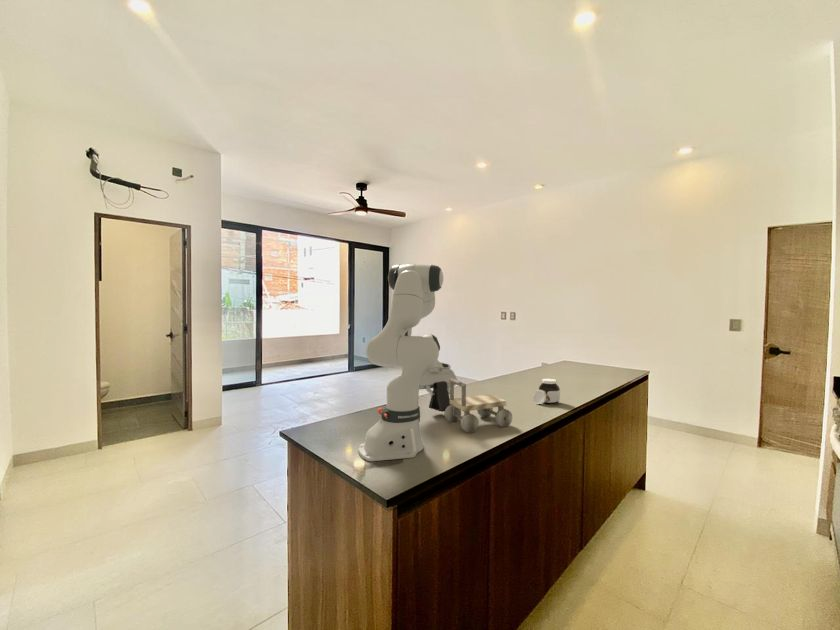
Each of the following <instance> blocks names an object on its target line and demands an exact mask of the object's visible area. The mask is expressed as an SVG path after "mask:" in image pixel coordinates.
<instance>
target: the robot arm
mask: <svg viewBox="0 0 840 630" xmlns="http://www.w3.org/2000/svg"><path fill="white" fill-rule="evenodd" d="M387 275H388V276H387V281H388V285H389V288H391V289H392V290H393V294H392V299H391V300H392V301H391V308H390V313H389V317H388V319H387V322H386V324H385V325H384V327H383V328H382V329H381V331H380V332H379V333H378V334H377V335H375V336H374V337H372V338H371V339H370V340H369V341H368V343H367V346H366V351H365V353H366V358H367V359H368V361H369V362H370V364H372V365H375V366H379V367H383V368H401V375H399V376H397V377H395V378H393V379H392V380H390V381H389V382H388V384H387V386H386V406H385V408H382V407H378V408H377V410H376V411H377V413H378V415H380V416H381V418H380V419H379V420H378V421H377V422H376V423H375V424H373V425H372V426H371V427H370V428H369V429H368V430H367V431H366V434H365V437H364V442H363V443H360V444H359V445H358V449H357V452H358V454H359V455H360V458H362V459H364V460H366V461H368V462H376V461H377V462H379V461H388V460H389V461H390V460H400V459H411V458H415V457H416V456H417V454H418V453H419V452H421V451H423V449H424V443H423V440H422V434H421V429H420V421H421V409H420V406H419V393H420V390H425V391H426V392H428V394H430V395H429V396H430V397H431V396H434V395H435V393H434V391H433V384H434V383H436V382H442V381H444V382H445V381H446V382H447V390H448V394H449V395H450V381H449V380H450V379H451V378H452V379H454V380H457V381H458V378H457V376H456V374H455V372H454V370H453V369H451V365H450V364H449V363H444V362H440V361H439V355H440V350H441V345H440V343H439V340H438V337H437V336H435V335H434V334H432V333H431V334H430V333H429V334H425V335H412V333H413V332H412V330H413V328H415V327H416V326H418V324H420V322H421V320H423V319H424V318H426V317H428V316H429V315H430V314H432V312H433V310H434V309H435V306H436V292H439V290H441V289H442V286H443V283H444V273H443V270H442V268H440V266H439V265H434V264H431V265H429V264H416V263H410V264H402V265H401V264H395V265H393V266H391V268H390V269H389V271H388V273H387ZM455 386H457V385H456V384H454V387H455Z"/></svg>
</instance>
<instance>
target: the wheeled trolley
mask: <svg viewBox="0 0 840 630" xmlns="http://www.w3.org/2000/svg"><path fill="white" fill-rule="evenodd" d="M449 381H450V389H449V390H450V394H449V398H450V404H451V405H449V406H448V407H447V408H446V409H445V411H444V413H443V414H444V417H445V419H446V420H447V421H448V422H449V423H456V422H457V421H459V420H460V428H461V429H462V430H463V431H465V432H466V433H468V434H473V433H474V432H476V430H477V429H478V427H479V425H480V424H479V419H478V417H477V416H476V415H474V414H473V413H471V411H477V414H478V415H479V416H480V417H482V418H488V417H490V416H491V415H494V416H495V417H494V420H495V422H496V424H497V425H498V426H500V427H502V428H507V427H508V426H510V425H511V424H512V421H513V413H512V412H511V411H510V410H508V409H506V408H505V406H507V400H505V399H503V398H500V397H498V396H496V395H493V394H483V395H472V396H466V395H467V384H466V383H464V382H461V381H459V380H458V379H457V380H454V379H452V378H451V379H450V380H449ZM454 384H456V385H455V386H459V387H460V388H461V397H459V398H458V397H456V398H455V386H454ZM494 408H497V411H494ZM462 412H463V413H464V414H463V416H462Z"/></svg>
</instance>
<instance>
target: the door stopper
mask: <svg viewBox="0 0 840 630" xmlns="http://www.w3.org/2000/svg"><path fill="white" fill-rule="evenodd" d="M432 391H434V393H435V395H434V396H431V395H430V401H429V405H428V408H429V409H431V410H434V411H438V412H440V413H441V412H445V409H446V408H447V407H448V406H449V405H451V404H450V394H448V390H447V382H446V381H445V382H444V381H442V382H436V383H434V384H433V388H432Z"/></svg>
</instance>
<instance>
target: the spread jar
mask: <svg viewBox="0 0 840 630" xmlns="http://www.w3.org/2000/svg"><path fill="white" fill-rule="evenodd" d="M557 383H558V382H557V379H553V378H542V379H541V384H539V387H538V390H536V391H535V392H534V393H533V395H532V401H533V402H534V403H535V404H536V405H539V404H541V405H543V404H544V403H545V405H549V404H554V405H557V404H558V403H559V402H560V400H561V388H560V387H559V385H558V384H557Z"/></svg>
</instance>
